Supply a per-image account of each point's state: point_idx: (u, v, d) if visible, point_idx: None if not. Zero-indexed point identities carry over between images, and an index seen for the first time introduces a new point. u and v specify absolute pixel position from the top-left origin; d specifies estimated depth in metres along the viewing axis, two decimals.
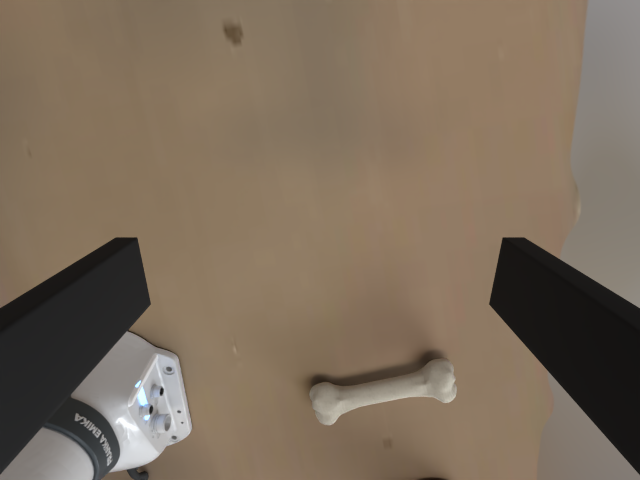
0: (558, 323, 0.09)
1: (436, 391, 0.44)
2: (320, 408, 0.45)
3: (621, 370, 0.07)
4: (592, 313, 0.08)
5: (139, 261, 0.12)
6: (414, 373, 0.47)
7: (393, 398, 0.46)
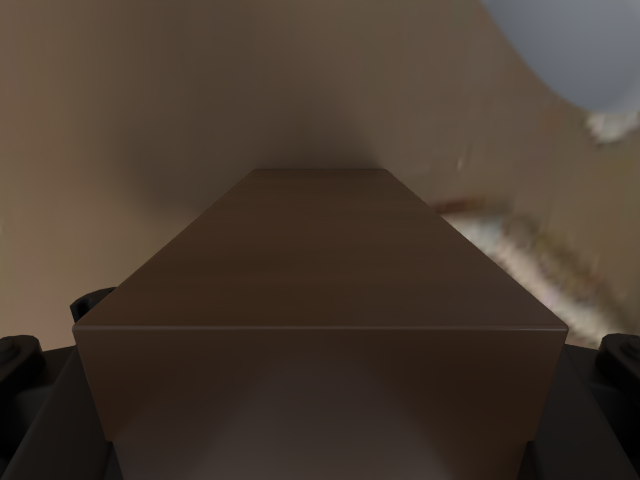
0: None
1: None
2: None
3: None
4: None
5: None
6: None
7: None
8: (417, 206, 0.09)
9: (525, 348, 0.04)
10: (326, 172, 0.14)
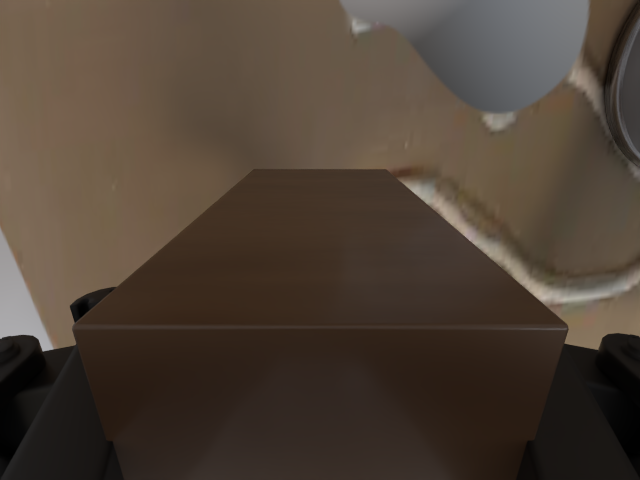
0: None
1: None
2: None
3: None
4: None
5: None
6: None
7: None
8: (417, 206, 0.09)
9: (525, 347, 0.04)
10: (326, 172, 0.14)
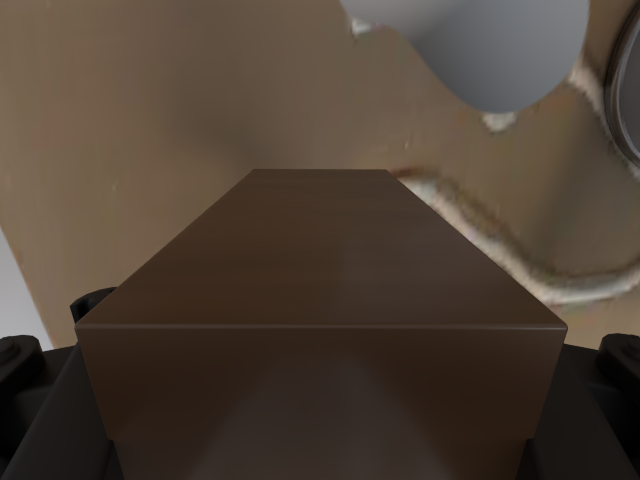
0: None
1: None
2: None
3: None
4: None
5: None
6: None
7: None
8: (417, 206, 0.09)
9: (525, 346, 0.04)
10: (326, 172, 0.14)
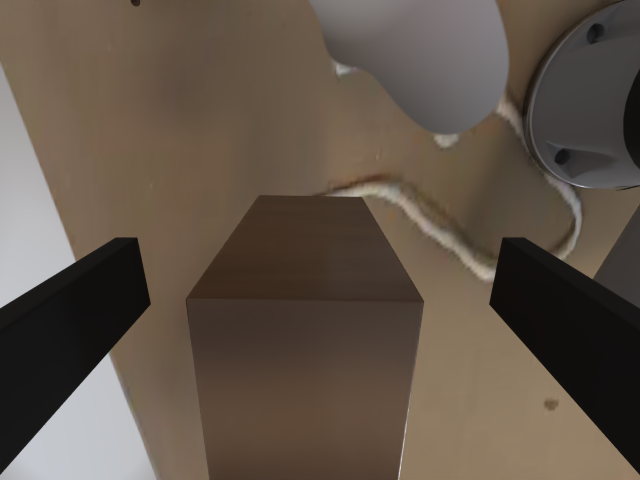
0: (558, 323, 0.09)
1: None
2: None
3: (621, 370, 0.07)
4: (592, 313, 0.08)
5: (139, 261, 0.12)
6: None
7: None
8: (374, 231, 0.14)
9: (404, 311, 0.09)
10: (315, 199, 0.19)
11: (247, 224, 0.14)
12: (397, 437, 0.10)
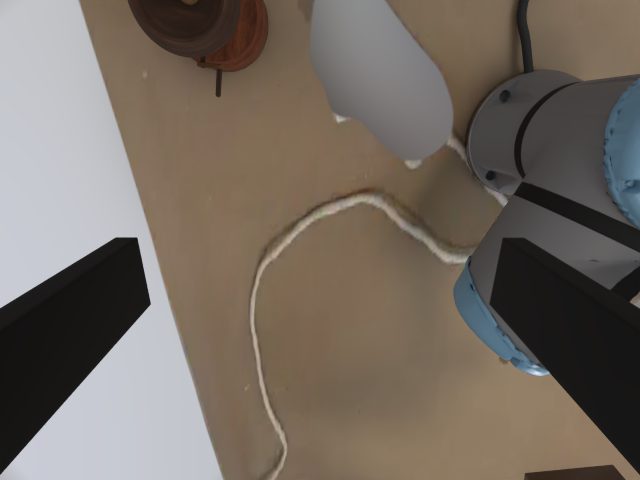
0: (558, 323, 0.09)
1: None
2: None
3: (621, 370, 0.07)
4: (592, 313, 0.08)
5: (139, 261, 0.12)
6: None
7: None
8: None
9: None
10: None
11: None
12: None
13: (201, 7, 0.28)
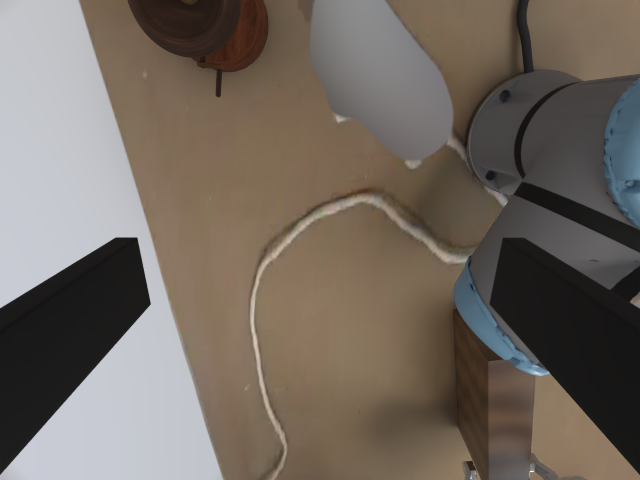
0: (558, 323, 0.09)
1: None
2: None
3: (621, 370, 0.07)
4: (592, 313, 0.08)
5: (139, 261, 0.12)
6: None
7: None
8: None
9: None
10: None
11: (470, 331, 0.48)
12: (533, 383, 0.44)
13: (201, 7, 0.28)
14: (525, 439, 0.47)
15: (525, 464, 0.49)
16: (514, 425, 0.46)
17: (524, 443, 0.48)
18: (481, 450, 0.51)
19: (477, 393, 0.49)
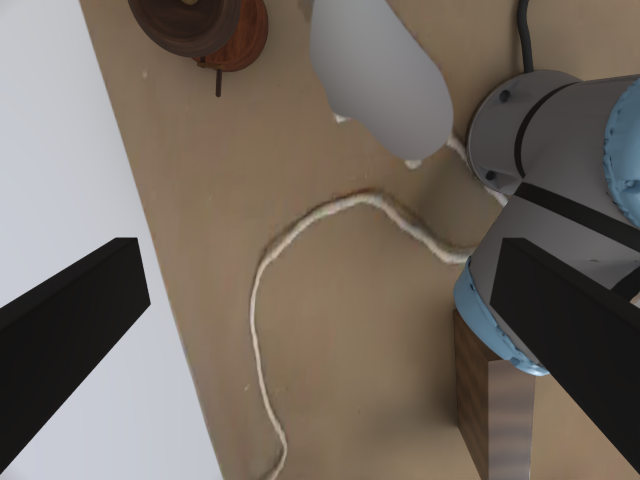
0: (558, 323, 0.09)
1: None
2: None
3: (621, 370, 0.07)
4: (592, 313, 0.08)
5: (139, 261, 0.12)
6: None
7: None
8: None
9: None
10: None
11: (470, 331, 0.48)
12: (533, 383, 0.44)
13: (201, 7, 0.28)
14: (525, 439, 0.47)
15: (525, 464, 0.49)
16: (514, 425, 0.46)
17: (524, 443, 0.48)
18: (481, 450, 0.51)
19: (477, 393, 0.49)
